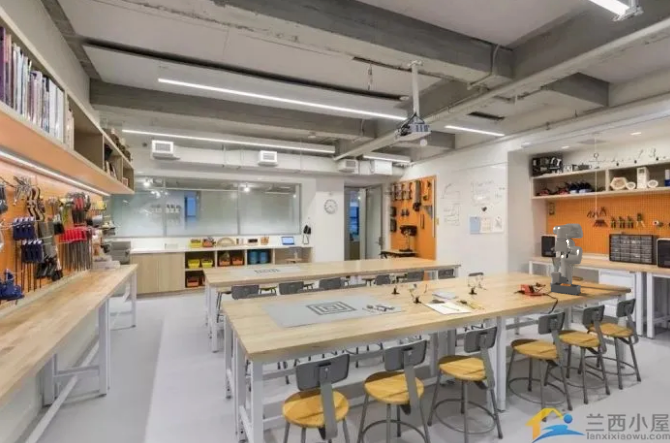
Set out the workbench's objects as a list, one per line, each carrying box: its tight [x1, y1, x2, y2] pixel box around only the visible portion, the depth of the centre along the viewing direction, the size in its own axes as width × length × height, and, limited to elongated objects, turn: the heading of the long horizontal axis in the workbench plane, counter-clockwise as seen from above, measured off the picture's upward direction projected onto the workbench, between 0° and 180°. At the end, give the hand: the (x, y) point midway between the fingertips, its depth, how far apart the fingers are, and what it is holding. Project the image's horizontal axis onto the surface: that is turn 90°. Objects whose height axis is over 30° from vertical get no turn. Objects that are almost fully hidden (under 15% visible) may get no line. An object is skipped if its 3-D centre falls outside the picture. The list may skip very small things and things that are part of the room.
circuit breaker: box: [549, 271, 568, 288], centre depth 340 cm, size 8×14×15 cm, turn 64°
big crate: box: [550, 282, 582, 297], centre depth 319 cm, size 18×20×7 cm
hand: (560, 257), depth 334 cm, fingers open, 9 cm apart
